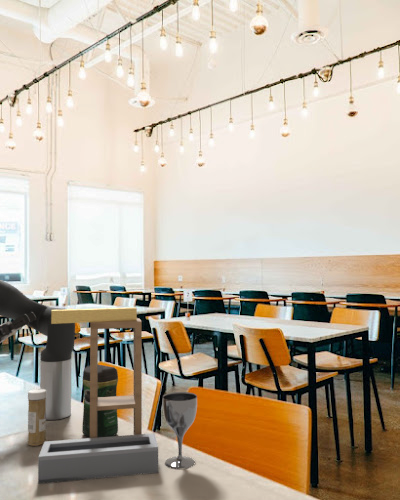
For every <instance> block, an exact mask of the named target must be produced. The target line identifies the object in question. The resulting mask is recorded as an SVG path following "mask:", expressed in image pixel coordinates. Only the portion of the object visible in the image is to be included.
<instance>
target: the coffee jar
mask: <svg viewBox="0 0 400 500" xmlns="http://www.w3.org/2000/svg"><path fill="white" fill-rule="evenodd" d="M118 373H119V372H118V369H117V368H115V367H114V366H107V365H103V364H98V397H113V396H117V391H118V390H117V387H118V383H119V376H118V375H119V374H118ZM82 386H83V410H82V411H83V413H82V414H83V415H82V426H81V427H82V434H83V435H84V436H86V437H87V438H90V365H87V366H85V368H84V370H83V373H82ZM118 417H119V416H118V409H116V410H100V411H97V438H98V437H111V436H115V435H117V434H118V432H119V423H118V422H119V420H118Z"/></svg>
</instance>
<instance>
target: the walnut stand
mask: <svg viewBox="0 0 400 500" xmlns="http://www.w3.org/2000/svg"><path fill="white" fill-rule="evenodd" d="M89 323H90V327H89V328H90V331H89V333H90V334H89V335H90V338H89V340H90V342H89V343H90V345H89V347H90V350H89V357H90V358H89V359H90V360H89V366H90V437H89V438H97V411H100V410H116V409H117V410H129V409H133V435H138V434H143V433H142V429H143V427H142V426H143V424H142V423H143V422H142V421H143V420H142V418H143V417H142V416H143V415H142V414H143V413H142V412H143V411H142V410H143V409H142V401H143V398H142V397H143V396H142V395H143V394H142V393H143V392H142V387H143V386H142V381H143V380H142V379H143V378H142V375H143V373H142V372H143V371H142V366H143V365H142V363H143V362H142V357H143V356H142V353H143V351H142V345H143V344H142V341H143V340H142V339H143V338H142V327H143V326H142V320H141V319H140V317H139V318H138V317H137V320H135V321H110V322H89ZM106 329H107V330H110V329H113V330H114V329H133V394H131V395H116V396H113V397H98V365H99V364H98V363H99V360H98V359H99V358H98V357H99V353H98V351H99V348H98V347H99V345H98V344H99V330H106Z"/></svg>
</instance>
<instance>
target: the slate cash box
mask: <svg viewBox="0 0 400 500" xmlns="http://www.w3.org/2000/svg"><path fill="white" fill-rule="evenodd" d="M38 454H39V455H38V456H37V457H38V460H37V461H38V463H37V464H38V465H37V469H38V470H37V473H38V474H37V476H38V477H37V484H38V485H43V484H51V483H52V484H53V483H62V482H72V481H82V480H83V481H84V480H93V479H103V478H104V479H105V478H115V477H116V478H117V477H126V476H137V475H147V474H148V475H149V474H156V473H159V445H158V442H157V437H156V433H155V432H154V433H142V434H138V435H134V434H128V435H116V436H115V435H114V436H111V437H98V438H90V437H87V438H77V439H63V440H49V441H48V440H46V442H44V444H42V447H41V450H40V452H39V453H38Z"/></svg>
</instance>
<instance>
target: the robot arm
mask: <svg viewBox="0 0 400 500" xmlns="http://www.w3.org/2000/svg"><path fill="white" fill-rule="evenodd" d="M67 309H68V308H64V307H55V306H54V307H53V306H49V305H45V304H44V303H43V304H42V303H40V302H37V301H34V300H32V299H30V298H29V297H28V296H26V295H25V294H24V293H23V292H22V291H20V290H19V289H18V288H17V287H15V286H14V285H13V284H11V283H8V282H6V281H5V280H2V279H0V316H2V317H4V318H7V319H11V321H9V320H8V321H7V322H5V323H1V324H0V344H1V343H2V342H4V341H6V340H7V339H8V338H9V337H11V336H14V335H15V334H16V333H17V331H18V330H21V329H23V328H24V326H28V327H29V328H31V329H33V330H35V331H37V332H38V333H40V334H41V335H44V336H45V337H46V344H45V345H46V346H45V348H44V349H42V350H41V352H40V356H39V357H40V363H39V364H40V369H39V370H40V375H39V377H40V378H39V379H40V380H39V381H40V382H39V384H40V385H39V389H45V390H46V392H47V396H46V421H47V420H48V421H49V420H50V421H52V420H61V419H64V418H67V417H70V416H71V414H72V355H73V354H72V353H73V351H74V349H75V339H76V338H75V337H76V335H75V334H76V323H58V324H51V315H52V310H67Z"/></svg>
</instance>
